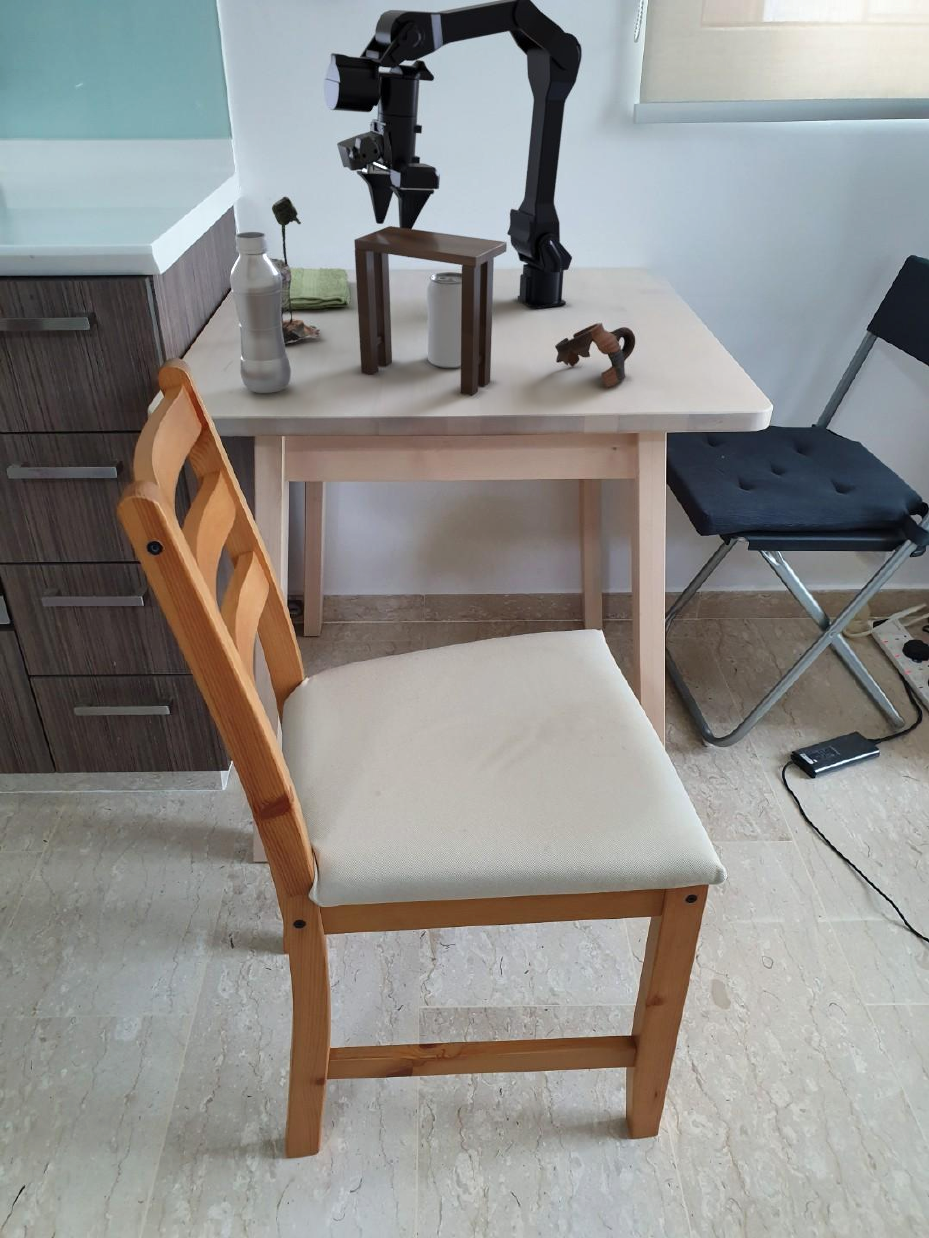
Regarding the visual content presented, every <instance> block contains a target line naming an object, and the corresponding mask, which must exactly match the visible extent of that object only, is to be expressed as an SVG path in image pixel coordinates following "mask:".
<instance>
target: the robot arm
mask: <svg viewBox="0 0 929 1238" xmlns="http://www.w3.org/2000/svg"><path fill="white" fill-rule="evenodd" d="M374 31H375V33H374V35H373V36H372V38H371V39H370V41H369V42H368V43H367V45H366V46H365V48H364V50H363V51H362V53H361V54H360V55H359V57H358V56H351V55H350V56H349V55H346V54H342V53H335V52H332V53H331V54H330V63H329V64H328V67H327V69H326V73H325V78H324V79H323V92H324V99H325V103H326V106H327V108H328V109H329V110H330V111H338V112H339V111H342V112H357V113H370V112H372V111H373V109H374V107H377V117H376V119H374V118H372V120H371V122H369V123H370V124H369V131H367V132H364V133H360V134H357V135H355V136H352V137H348V138H347V139H344V140H341V141H338V142H337V144H336V146H337V149H338V153H339V156H340V157H339V158H340V159H341V163H342V166H343V168H348V169H349V170H350V171H356V174H357V175H358V176H359V177H360V178H361V179H362V180H363V181H364V182H365V184H366V185H367V187H368V192H369V196H370V200H371V206H372V210H373V215H374V219H375V224H377V225H383V224H384V223H385V220H386V217H387V215H388V212H389V208H390V205H391V202H392V198H393V195H395V197H396V198H397V204H398V205H397V206H398V225H399V226H398V227H400V228H408V229H413V228H414V225H415V223H416V222H417V220H418V218H419V216H420V214H421V212H422V210H423V208H424V207H425V206H426V203H427V202H428V200H429V198H430V197H431V195H434V194H435V190H439V189H440V180H441V174H440V172H439V171H438V170H437V168H436V167H435V166H433V165H429V164H427V163H422V162H421V156H418V155H416V143H417V134H422V133H423V125H421V124H418V113H419V112H418V111H419V95H420V81H424V82H426V81H427V82H433V81H435V76H434V74H433V73H432V72H431V71H430V70H429V68H428V67H427V65H426V62H425V61H424V60H420V59H422V58H424V57H426V56H429V55H431V54H433V53H435V52H436V51H438V50H439V49H441V48H443V47H444V46H446V45H448V44H449V45H450V44H452V43H456V42H461V41H462V42H463V41H467V40H472V39H477V38H481V37H486V36H491V35H497V34H502V33H510V35H511V37H512V39H513V41H514V42H515V44H516V46H517V47H518V48H519V49H520V50H521V52H523V53H524V54H525V55H526V65H527V66H526V67H527V68H526V69H527V80H528V82H529V87H530V89H531V93H532V98H533V102H532V103H533V104H532V115H531V125H530V136H529V144H528V145H529V146H528V157H527V167H526V169H527V170H526V177H525V188H524V197H523V200H522V201H521V204H520V205H519V207H518V209H515V208H511V209H510V212H509V227H508V230H507V233H506V234H507V235H508V236H509V237H510V245H511V246H512V247H513V249H514V250H515V251H516V252H517V256H518V260H519V262H522V263H525V264H523V265H522V273H521V274H520V275H519V295H517V299H518V301H520V302H522V303H523V304H525V305H526V306H528V307H530V308H531V309H540V308H541V309H543V308H551V307H557V306H558V307H559V306H565V305H567V301H566V300H564V299H563V288H564V287H563V286H564V271H568V270H569V268H570V266H571V263H572V261H573V255H571V254H570V252H569V251H568V250H567V248H565V247H564V245H563V244H562V243H561V226H560V225H561V223H560V219H559V215H558V212H557V208H556V204H555V197H556V196H555V195H556V185H557V176H558V168H559V159H560V152H561V151H560V150H561V142H562V133H563V124H564V116H565V106H566V103H567V102H566V101H567V99H568V97H569V96H570V94H571V91H572V90H573V88H574V86H575V84H576V82H577V79H578V76H579V71H580V67H581V62H582V59H583V48H582V44H581V43H580V42H579V40H578V38H577V37H576V36H575V35H573V33H569V32H565V31H564V30H563V28H562V27H561V26H560V25H558V23H556V22H555V21H553V20H552V19H551V18H550V17H549V16H547V15H546V14H545V13H543V12H542V11H541V10H540V9H539V8H538V7H537V5H536V4H535V3H534V2H533V1H532V0H495V1H488V2H484V3H483V2H482V3H478V4H472V5H467V6H463V7H462V6H461V7H456V8H450V9H446V10H440V11H423V10H421V11H420V10H405V9H404V10H403V9H402V10H401V9H389V10H387V11H384V12H383V13H382V14H380V16H379V19H378V20H377V23H376V26H375V30H374ZM405 61H406V62H413V63H412V64H410V65H408V64H402V63H404V62H405ZM380 68H388V69H389V70H388V71H383V70H382V71H380Z"/></svg>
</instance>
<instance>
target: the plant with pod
mask: <svg viewBox="0 0 929 1238" xmlns="http://www.w3.org/2000/svg"><path fill="white" fill-rule="evenodd" d="M271 210H272V213H273V215H274V217H275V220H276V222H277V224H278V225H279V226H281V236H282V254H283V258H284V260H282V259H279V258H271V257H269V258H270V259H271V260H272V261H273V262H274V264H275V265H276V266H277V268H278V269H279V271H280V273H281V276H282V302H281V315H282V320H281V322H282V332H283V338H284V343H285V344H289V343H295V342H298V341H300V340H301V339H302V340H303V339H304V340H305V339H307V338H313V339H318V338H319V337H320V333H319V332H320V329H318V328H317V327H316V326H315V325H310V326H309V325H306V324H305V323H304V321H303V319H300V318H293V309H291V301H290V293H289V292H290V284H291V279H292V275H291V270H290V268H289V267H290V266H289V263H288V259H287V248H286V226H287V225H289V224H290V223H293V222H296V223H297V224H298V225H301V224H302V222H301V221H300V219H299V218H298V214H299V213H298V211H297V209H296V207H295V206H294V204H293V203H292V201H291V199H290V198H289V197H287V196H283V197H282V198H281V199H279V200H277V201H275V202H274V203H273V205H272V207H271ZM288 308H289V309H290V310H289V309H288ZM288 310H289V313H290V319H286V320H284V317H283V316H284V313H285V312H286V311H288Z"/></svg>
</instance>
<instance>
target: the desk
mask: <svg viewBox="0 0 929 1238" xmlns="http://www.w3.org/2000/svg"><path fill="white" fill-rule="evenodd" d="M507 248H508V242H506V241H501V240H494V239H487V238H479V237H472V236H465V235H459V234H450V233H445V232H444V233H443V232H435V231H428V230H421V229H415V228H412V229H408V228H400V226H393V225H389V226H387V227H384V228H381V229H379V230H376V231H373V232H371V233H368V234H366V235H365V234H364V235H362V236H360V237H358V238H355V239H354V261H355V262H354V263H355V279H356V281H355V283H356V299H357V314H358V315H357V316H358V317H357V318H358V334H359V335H358V336H359V337H358V338H359V354H360V355H359V356H360V370H361V371H360V372H361V374H366V375H371V376H372V375H375V374H376V373H378V372H379V366H382V367H387V366H389V365H391V364H393V349H392V348H393V347H392V345H393V344H392V319H391V317H392V316H391V290H390V289H391V287H390V263H389V261H390V259H389V255H393V256H398V257H405V258H411V259H412V258H413V259H419V260H426V261H432V262H439V263H445V264H452V265H459V266H461V273H462V294H461V367H460V394H463V395H468V396H471V397H472V396H474V395H475V394H477V393H478V392H479V386H480V387H487V385H489V384H490V383H491V373H492V372H491V371H492V370H491V368H492V367H491V366H492V338H493V337H492V335H493V302H494V301H493V295H494V267H495V266H494V265H495V262H494V261H495V260H494V259H495V258H496V257H498V256H500V255H502V254H504V253H506V252H507V250H508V249H507Z"/></svg>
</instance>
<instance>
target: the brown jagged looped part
mask: <svg viewBox="0 0 929 1238" xmlns="http://www.w3.org/2000/svg"><path fill="white" fill-rule="evenodd" d="M603 325H604V324H603V323H602V322H596V323H594V324H592V325H590V326H589V325H588V327H585V328H583V329H581V330H579V331H576V332H575V333H573V335H572V336H573V338H570V339H569V338H568V337H565V338H563V339H562V340H560V341H559V342H558V343H557V344H555V346H554V348H555V349H556V351H557V356H556V359H555V362H556V363H558V364H559V363H562V362H563V364H564V365H565V366H568V365H569V366H571V367H575V366H576V365H577V364H578V363H579V361H580V357H582V358H590V357H591V354H590V349H591V345H592V343H594V344H595V346H596V347H597V350H598V351H599V352H600V353H601V354H603V355H607V357H608V359H609V361H610V363H611V366H610V368H608V369H607V370H604V371H602V373H601V377H602V379H603V381H604V387H605V388H606V389H608V388H610V387H613V386H614V385H616V384H617V383H620V382H621V381H624V379H625V378H626V369H625V362H626V360H627V359H628V358H629V357H630V356H631V355H632V354H633V352H634V349H635V346H636V336H635V333H634V331H633V330H632V329H630V328H629V327H627V326H624V327H623V326H622V327H619V328H616V329H614V330H613V331H608V330H605V327H604V326H603ZM621 339H623V345H622V346H621V344H620V340H621Z"/></svg>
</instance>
